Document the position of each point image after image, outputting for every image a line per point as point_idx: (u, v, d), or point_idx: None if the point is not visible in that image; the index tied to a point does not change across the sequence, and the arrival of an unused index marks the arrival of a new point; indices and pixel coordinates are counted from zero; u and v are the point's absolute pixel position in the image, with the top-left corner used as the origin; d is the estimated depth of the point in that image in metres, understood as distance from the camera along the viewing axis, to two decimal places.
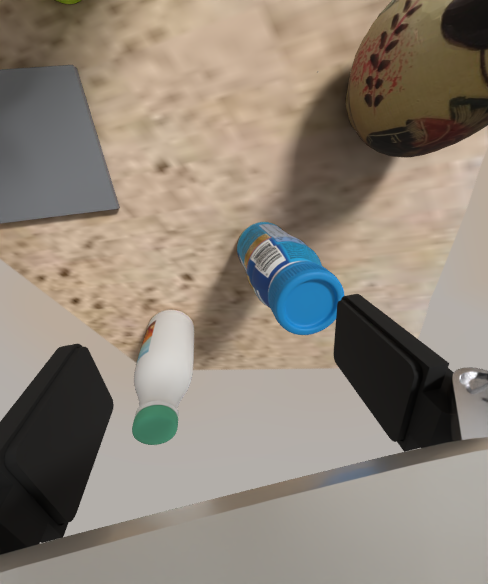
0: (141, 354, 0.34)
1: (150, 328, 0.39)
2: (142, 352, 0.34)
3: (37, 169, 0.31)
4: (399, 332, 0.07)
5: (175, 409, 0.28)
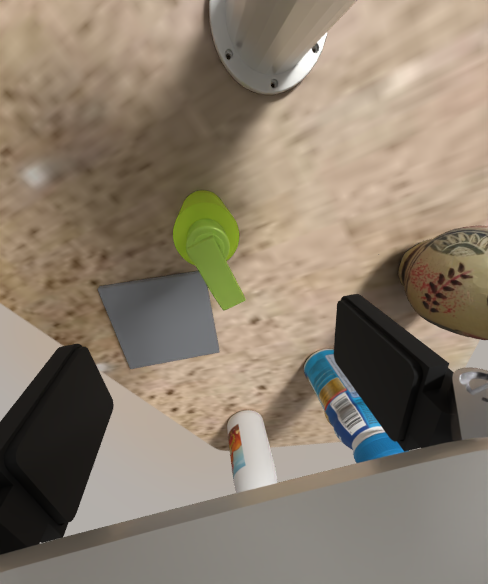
0: (238, 465, 0.43)
1: (236, 433, 0.48)
2: (239, 463, 0.44)
3: (166, 334, 0.40)
4: (399, 332, 0.07)
5: None
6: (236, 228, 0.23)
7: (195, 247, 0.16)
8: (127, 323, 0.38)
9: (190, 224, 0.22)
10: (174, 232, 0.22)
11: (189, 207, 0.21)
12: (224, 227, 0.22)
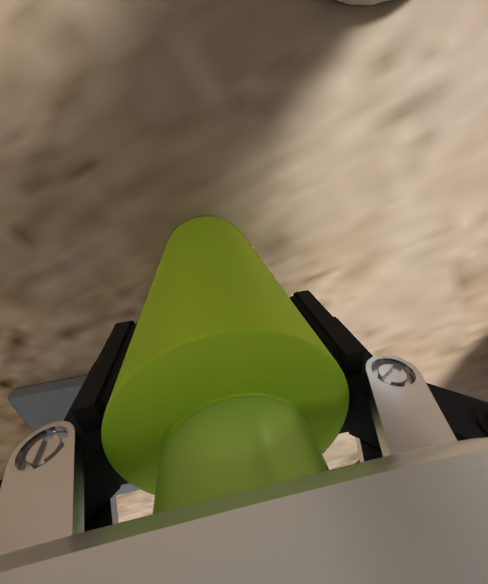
0: None
1: None
2: None
3: None
4: (331, 324, 0.08)
5: None
6: (344, 398, 0.06)
7: None
8: None
9: (171, 418, 0.05)
10: (107, 439, 0.05)
11: (165, 354, 0.05)
12: (306, 408, 0.06)
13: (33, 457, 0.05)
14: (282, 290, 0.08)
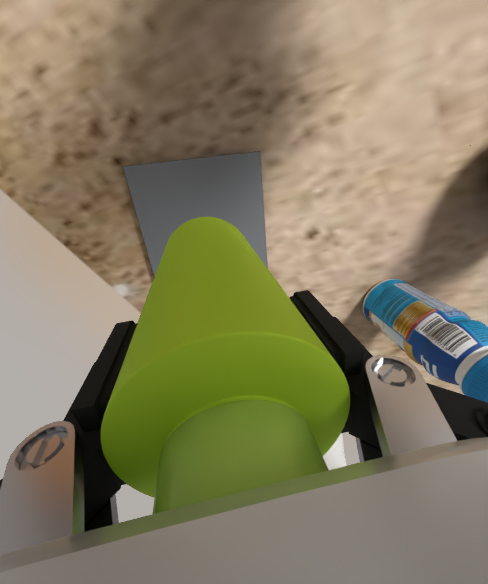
0: None
1: None
2: None
3: None
4: (331, 324, 0.08)
5: None
6: (345, 400, 0.06)
7: None
8: (158, 223, 0.30)
9: (171, 421, 0.05)
10: (106, 442, 0.05)
11: (165, 357, 0.05)
12: (307, 411, 0.06)
13: (33, 457, 0.05)
14: (283, 291, 0.08)
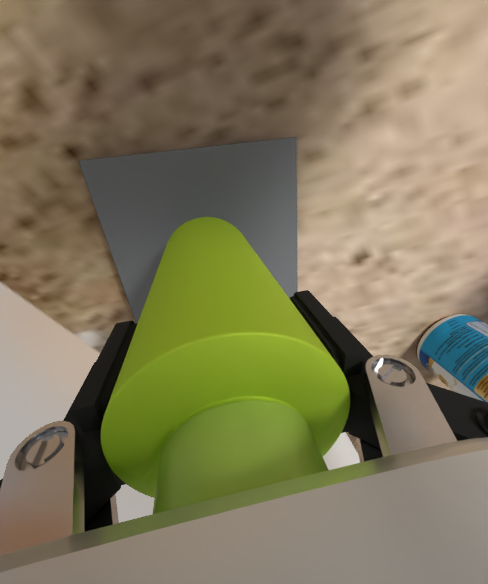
0: None
1: None
2: None
3: None
4: (331, 324, 0.08)
5: None
6: (345, 400, 0.06)
7: None
8: (139, 247, 0.20)
9: (171, 421, 0.05)
10: (106, 442, 0.05)
11: (165, 357, 0.05)
12: (307, 411, 0.06)
13: (33, 457, 0.05)
14: (283, 291, 0.08)
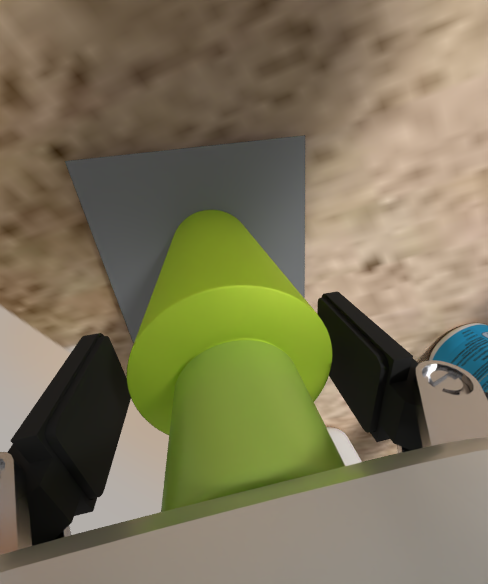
0: None
1: None
2: None
3: None
4: (371, 327, 0.07)
5: None
6: (327, 350, 0.07)
7: None
8: (133, 255, 0.18)
9: (184, 358, 0.06)
10: (131, 377, 0.07)
11: (180, 304, 0.06)
12: (295, 356, 0.07)
13: None
14: None
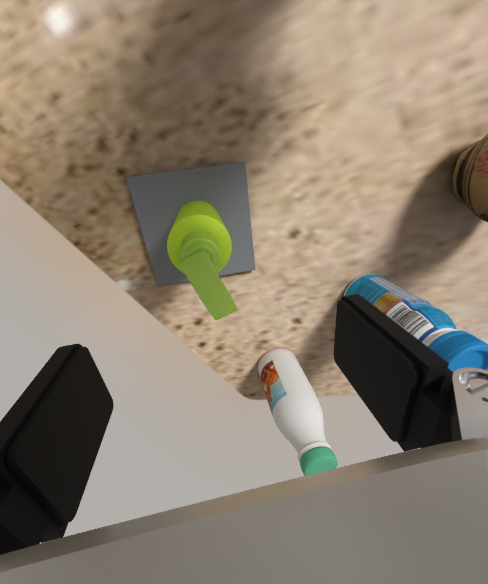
0: (278, 396, 0.39)
1: (270, 368, 0.44)
2: (278, 394, 0.39)
3: None
4: (399, 332, 0.07)
5: (330, 448, 0.33)
6: (228, 239, 0.23)
7: (186, 260, 0.17)
8: (156, 225, 0.34)
9: (183, 236, 0.22)
10: (168, 244, 0.22)
11: (182, 219, 0.22)
12: (217, 238, 0.23)
13: None
14: (218, 217, 0.25)
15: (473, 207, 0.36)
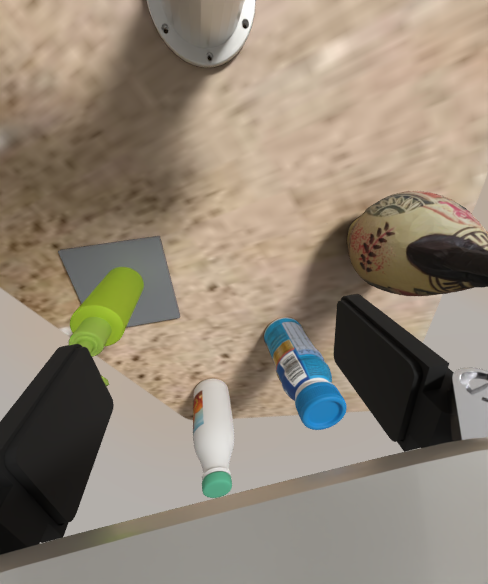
0: (197, 424, 0.46)
1: (199, 398, 0.51)
2: (198, 422, 0.46)
3: None
4: (399, 332, 0.07)
5: (229, 472, 0.40)
6: (119, 320, 0.30)
7: None
8: (88, 286, 0.41)
9: (81, 320, 0.29)
10: (71, 325, 0.30)
11: (79, 309, 0.29)
12: (109, 321, 0.30)
13: None
14: (119, 298, 0.32)
15: (356, 271, 0.43)
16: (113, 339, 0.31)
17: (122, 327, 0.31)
